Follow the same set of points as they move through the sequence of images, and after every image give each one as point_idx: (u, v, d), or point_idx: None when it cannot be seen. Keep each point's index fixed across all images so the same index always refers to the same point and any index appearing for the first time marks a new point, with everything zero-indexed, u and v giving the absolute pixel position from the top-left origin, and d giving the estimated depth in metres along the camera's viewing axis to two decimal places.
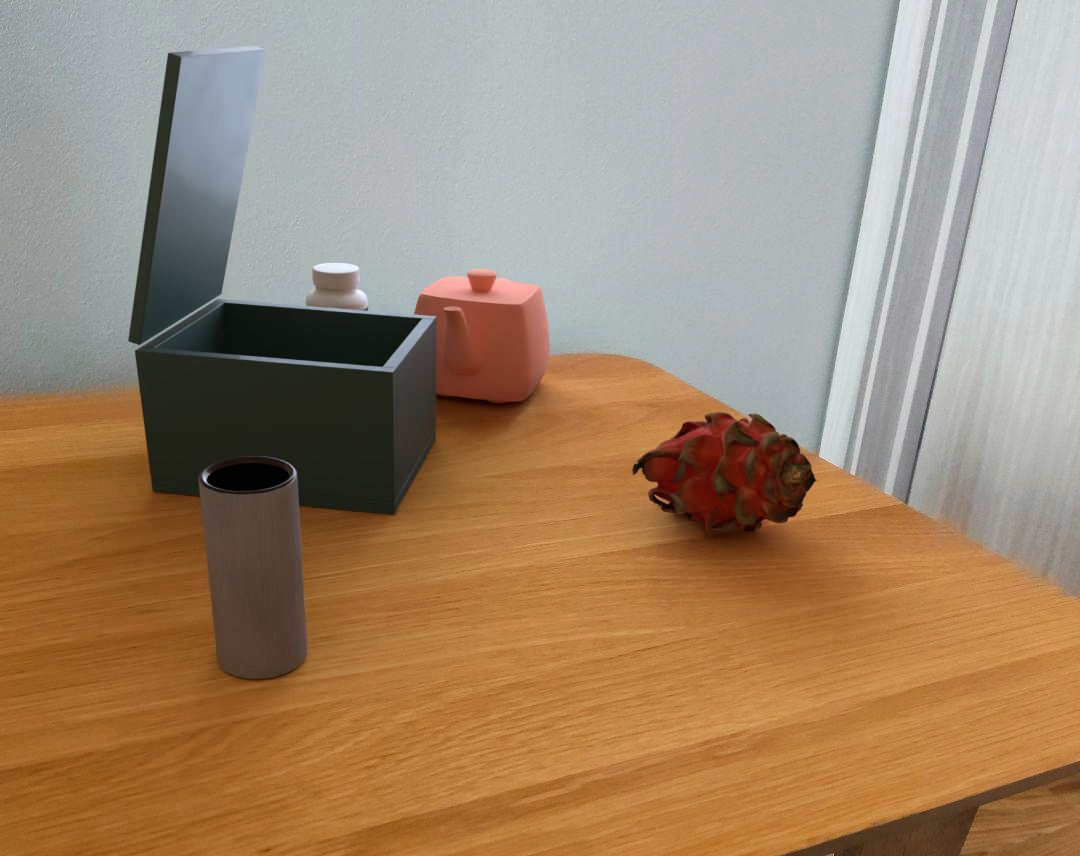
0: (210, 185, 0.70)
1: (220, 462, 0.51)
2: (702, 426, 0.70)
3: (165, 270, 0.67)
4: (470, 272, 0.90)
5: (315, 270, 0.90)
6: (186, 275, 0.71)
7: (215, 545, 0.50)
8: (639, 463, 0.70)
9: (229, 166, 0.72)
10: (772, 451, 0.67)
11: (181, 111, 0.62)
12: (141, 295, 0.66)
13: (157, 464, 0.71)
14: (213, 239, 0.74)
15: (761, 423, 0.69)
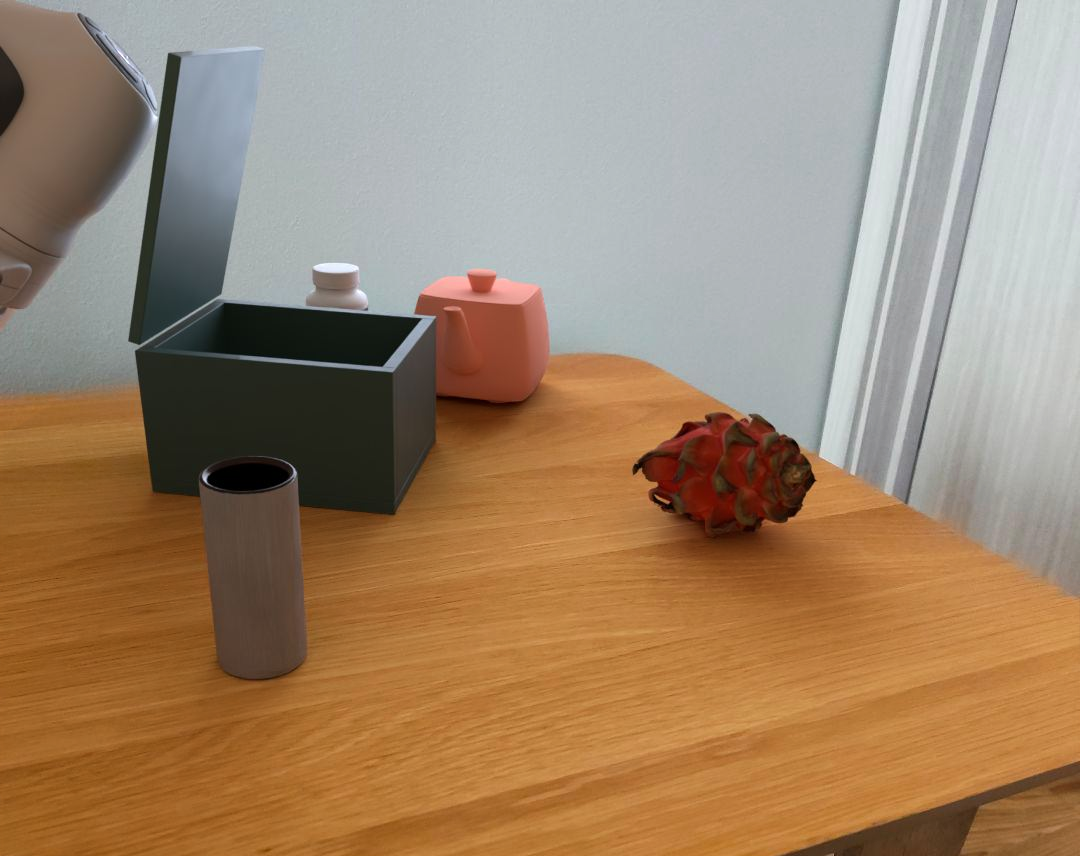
0: (210, 185, 0.70)
1: (220, 462, 0.51)
2: (702, 426, 0.70)
3: (165, 270, 0.67)
4: (470, 272, 0.90)
5: (315, 270, 0.90)
6: (186, 275, 0.71)
7: (215, 545, 0.50)
8: (639, 463, 0.70)
9: (229, 166, 0.72)
10: (772, 452, 0.67)
11: (181, 111, 0.62)
12: (141, 295, 0.66)
13: (157, 464, 0.71)
14: (213, 239, 0.74)
15: (761, 423, 0.69)
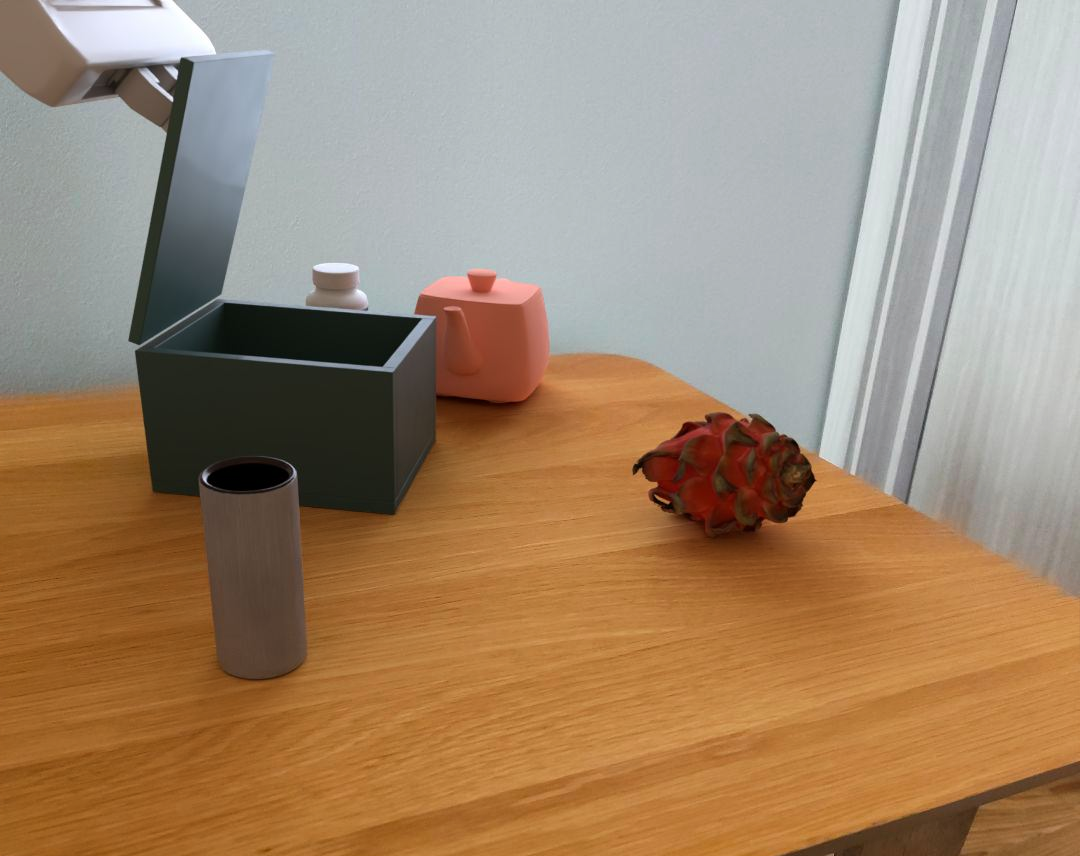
0: (216, 188, 0.70)
1: (220, 462, 0.51)
2: (702, 426, 0.70)
3: (168, 271, 0.67)
4: (470, 272, 0.90)
5: (315, 270, 0.90)
6: (188, 276, 0.71)
7: (215, 545, 0.50)
8: (639, 463, 0.70)
9: (235, 168, 0.72)
10: (772, 452, 0.67)
11: (191, 115, 0.62)
12: (143, 296, 0.66)
13: (157, 464, 0.71)
14: (215, 241, 0.74)
15: (761, 423, 0.69)
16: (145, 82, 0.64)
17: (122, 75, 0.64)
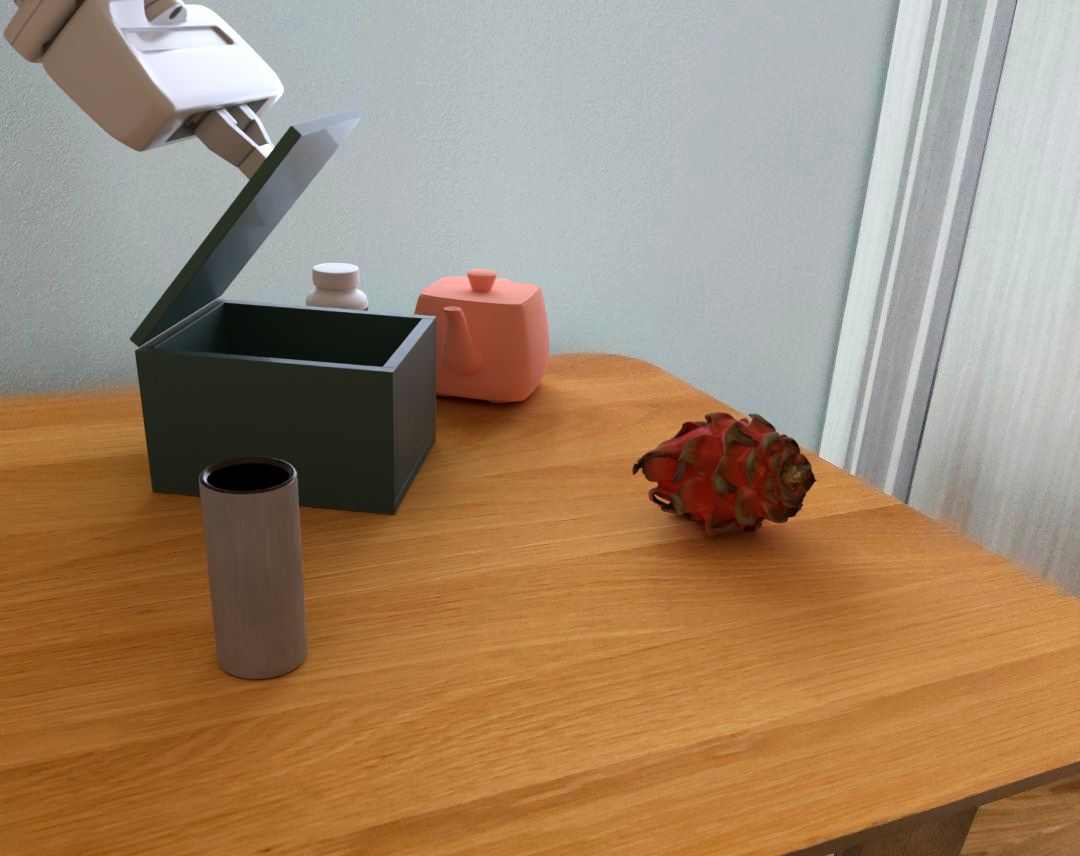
0: (263, 220, 0.71)
1: (220, 462, 0.51)
2: (702, 426, 0.70)
3: (192, 289, 0.68)
4: (470, 272, 0.90)
5: (315, 270, 0.90)
6: (204, 289, 0.72)
7: (215, 545, 0.50)
8: (639, 463, 0.70)
9: (285, 203, 0.73)
10: (772, 452, 0.67)
11: (277, 173, 0.63)
12: (162, 308, 0.66)
13: (157, 464, 0.71)
14: (240, 258, 0.74)
15: (761, 423, 0.69)
16: (224, 124, 0.65)
17: (201, 117, 0.65)
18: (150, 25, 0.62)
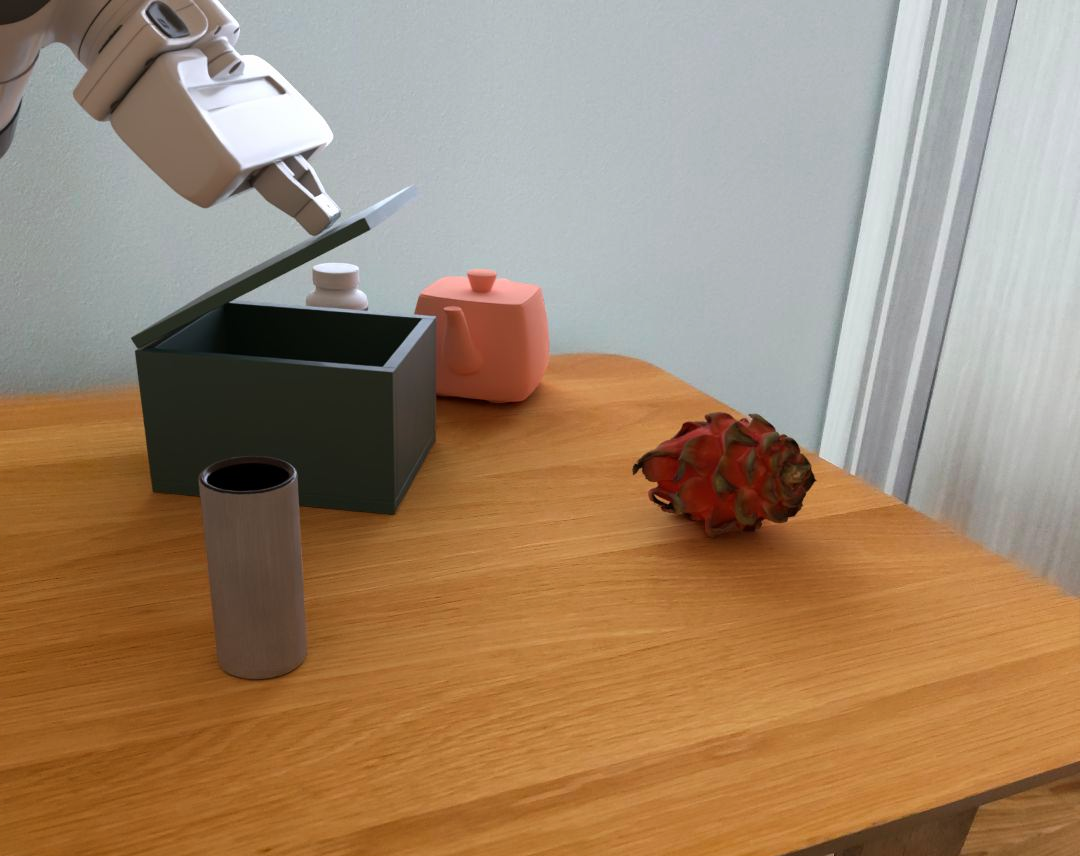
0: None
1: (220, 462, 0.51)
2: (702, 426, 0.70)
3: None
4: (470, 272, 0.90)
5: (315, 270, 0.90)
6: None
7: (215, 545, 0.50)
8: (639, 463, 0.70)
9: None
10: (772, 451, 0.67)
11: None
12: (175, 323, 0.66)
13: (157, 464, 0.71)
14: None
15: (761, 423, 0.69)
16: (283, 176, 0.66)
17: (260, 169, 0.66)
18: (212, 82, 0.63)
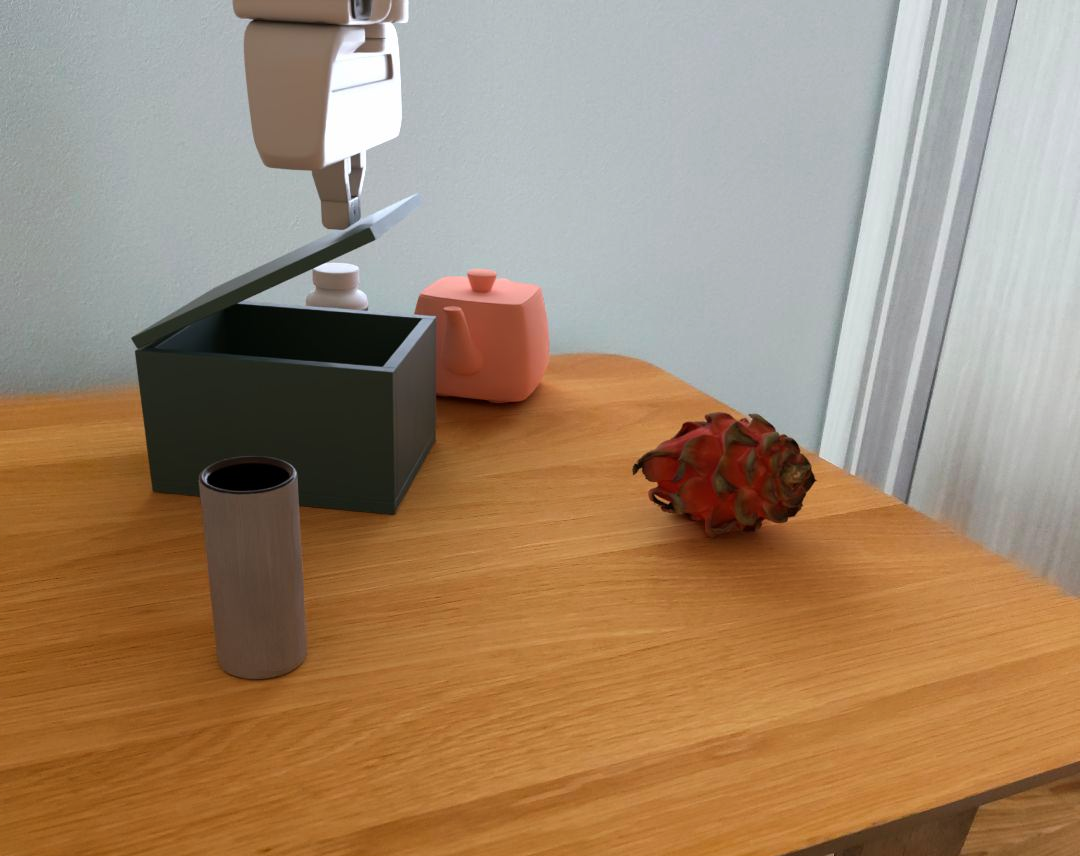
0: None
1: (220, 462, 0.51)
2: (702, 426, 0.70)
3: None
4: (470, 272, 0.90)
5: (315, 270, 0.90)
6: None
7: (215, 545, 0.50)
8: (639, 463, 0.70)
9: None
10: (772, 452, 0.67)
11: None
12: (176, 325, 0.66)
13: (157, 464, 0.71)
14: None
15: (761, 423, 0.69)
16: (341, 171, 0.65)
17: None
18: (351, 57, 0.62)
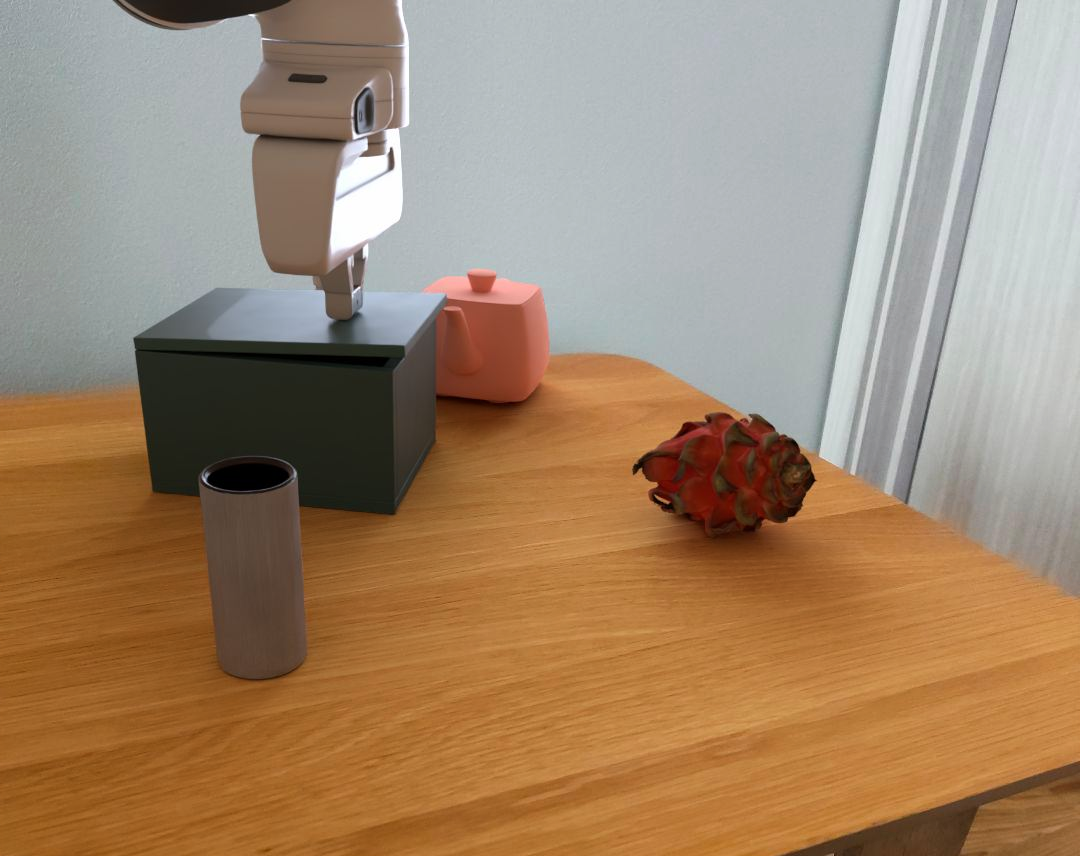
0: None
1: (220, 462, 0.51)
2: (702, 426, 0.70)
3: None
4: (470, 272, 0.90)
5: None
6: None
7: (215, 545, 0.50)
8: (639, 463, 0.70)
9: None
10: (772, 452, 0.67)
11: None
12: (183, 346, 0.67)
13: (157, 464, 0.71)
14: None
15: (761, 423, 0.69)
16: (344, 266, 0.68)
17: None
18: (354, 162, 0.65)
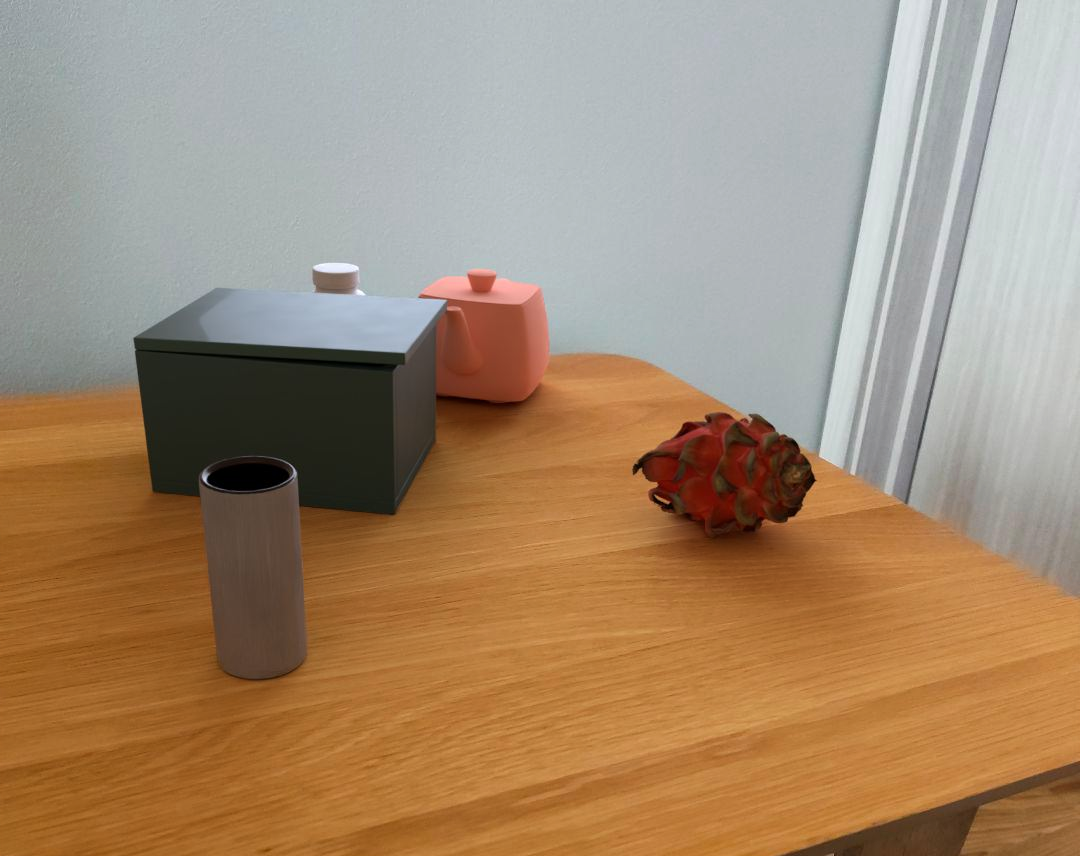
0: None
1: (220, 462, 0.51)
2: (702, 426, 0.70)
3: None
4: (470, 272, 0.90)
5: (315, 270, 0.90)
6: None
7: (215, 545, 0.50)
8: (639, 463, 0.70)
9: None
10: (772, 452, 0.67)
11: None
12: (183, 347, 0.67)
13: (157, 464, 0.71)
14: None
15: (761, 423, 0.69)
16: None
17: None
18: None
